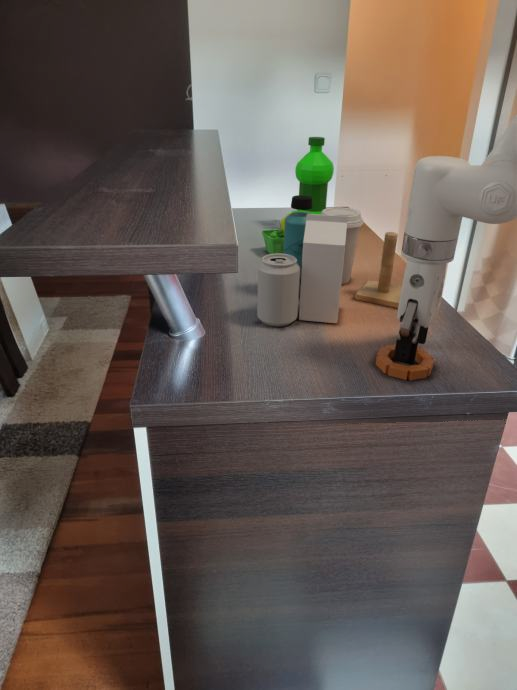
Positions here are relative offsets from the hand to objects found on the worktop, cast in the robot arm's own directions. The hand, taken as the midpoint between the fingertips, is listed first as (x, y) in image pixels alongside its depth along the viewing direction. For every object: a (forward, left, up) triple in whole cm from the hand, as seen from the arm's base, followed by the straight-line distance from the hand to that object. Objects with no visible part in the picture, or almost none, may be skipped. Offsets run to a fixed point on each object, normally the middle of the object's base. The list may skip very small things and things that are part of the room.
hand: (409, 350), depth 84 cm
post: (+11, -23, -1) cm, 25 cm away
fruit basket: (+40, -38, -1) cm, 55 cm away
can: (+25, -2, -1) cm, 25 cm away
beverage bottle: (+27, -15, -1) cm, 31 cm away
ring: (0, +3, -1) cm, 4 cm away
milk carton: (+19, -8, -1) cm, 21 cm away
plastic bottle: (+43, -60, -1) cm, 74 cm away
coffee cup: (+23, -27, -1) cm, 35 cm away
